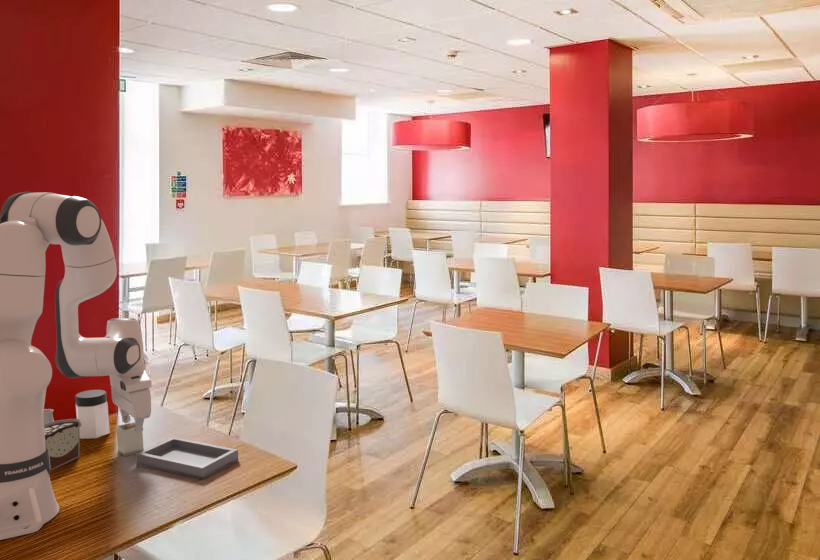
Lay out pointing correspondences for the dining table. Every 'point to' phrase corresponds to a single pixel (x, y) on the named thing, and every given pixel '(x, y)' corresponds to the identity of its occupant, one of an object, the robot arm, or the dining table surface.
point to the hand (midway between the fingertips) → (132, 426)
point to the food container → (62, 441)
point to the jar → (92, 413)
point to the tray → (187, 458)
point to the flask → (48, 416)
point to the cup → (129, 439)
